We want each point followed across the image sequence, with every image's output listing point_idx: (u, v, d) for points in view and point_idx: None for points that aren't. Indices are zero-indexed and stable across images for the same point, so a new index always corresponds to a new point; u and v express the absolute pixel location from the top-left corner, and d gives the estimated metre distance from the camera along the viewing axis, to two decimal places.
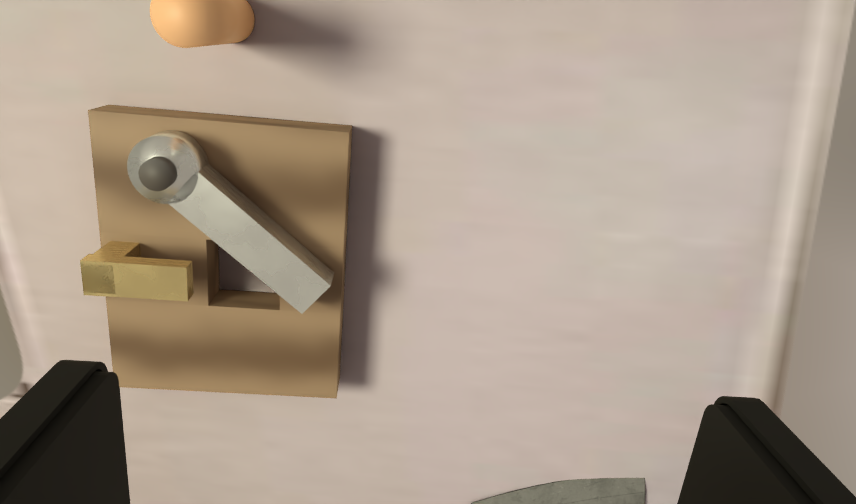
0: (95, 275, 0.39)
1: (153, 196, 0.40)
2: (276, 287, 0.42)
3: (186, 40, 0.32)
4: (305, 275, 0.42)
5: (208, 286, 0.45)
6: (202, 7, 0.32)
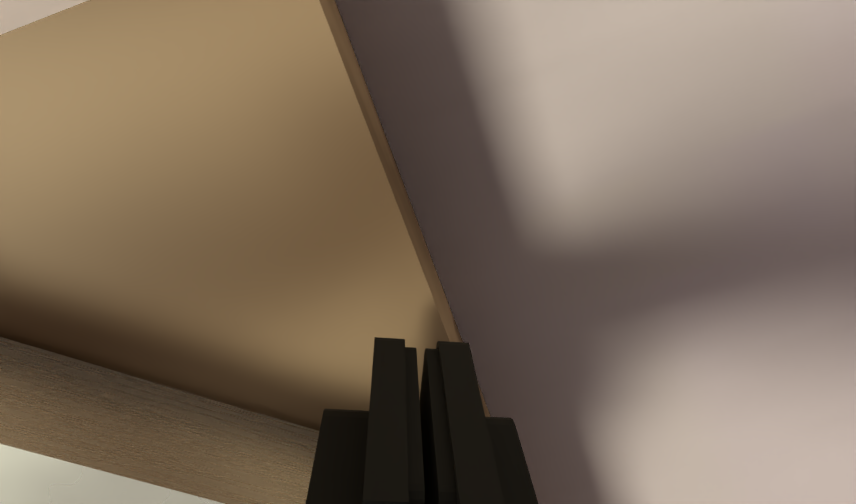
0: None
1: None
2: None
3: None
4: None
5: None
6: None
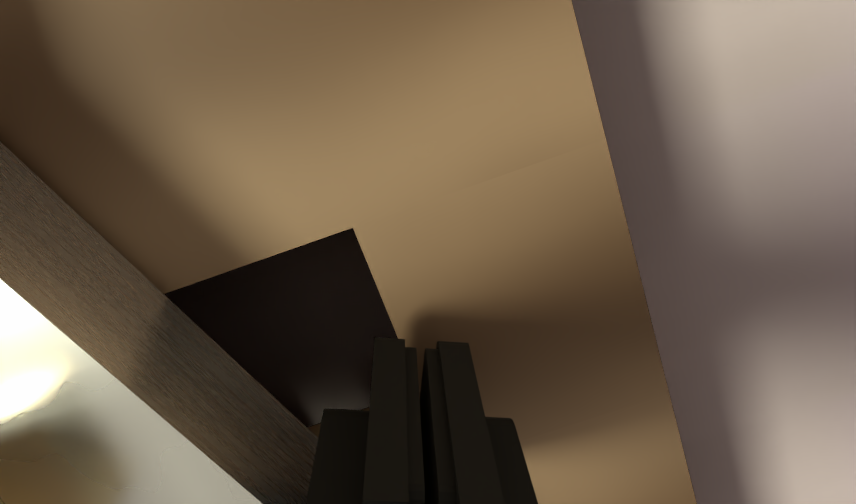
0: None
1: None
2: None
3: None
4: None
5: None
6: None
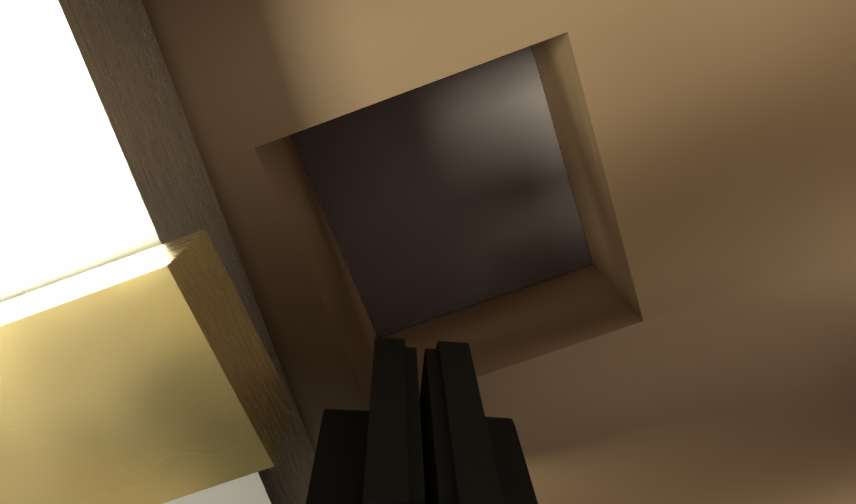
0: None
1: None
2: None
3: None
4: None
5: (343, 340, 0.11)
6: None
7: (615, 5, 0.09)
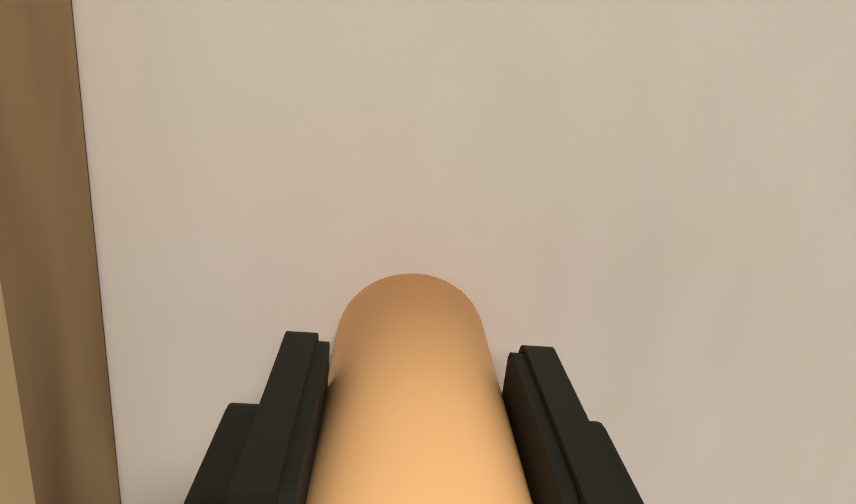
0: None
1: None
2: None
3: None
4: None
5: None
6: None
7: None
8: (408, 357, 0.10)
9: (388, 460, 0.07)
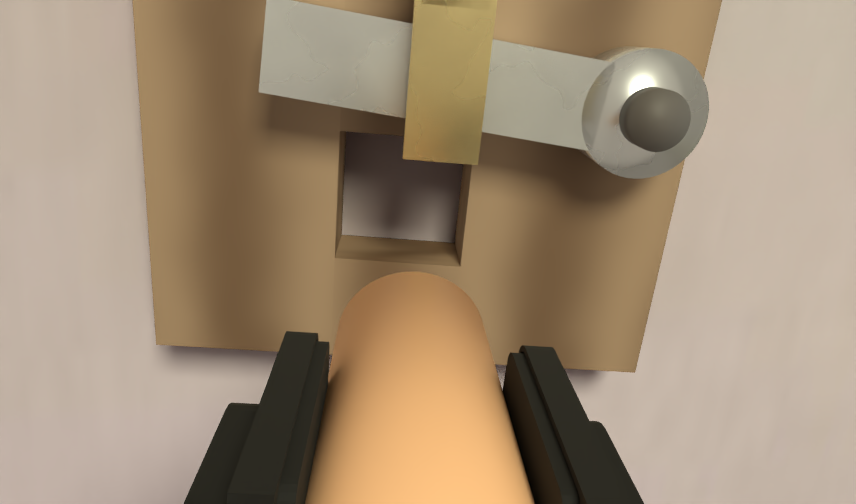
0: None
1: (643, 59, 0.20)
2: (347, 20, 0.20)
3: None
4: (314, 82, 0.20)
5: None
6: None
7: (461, 284, 0.26)
8: (409, 354, 0.10)
9: (388, 458, 0.07)
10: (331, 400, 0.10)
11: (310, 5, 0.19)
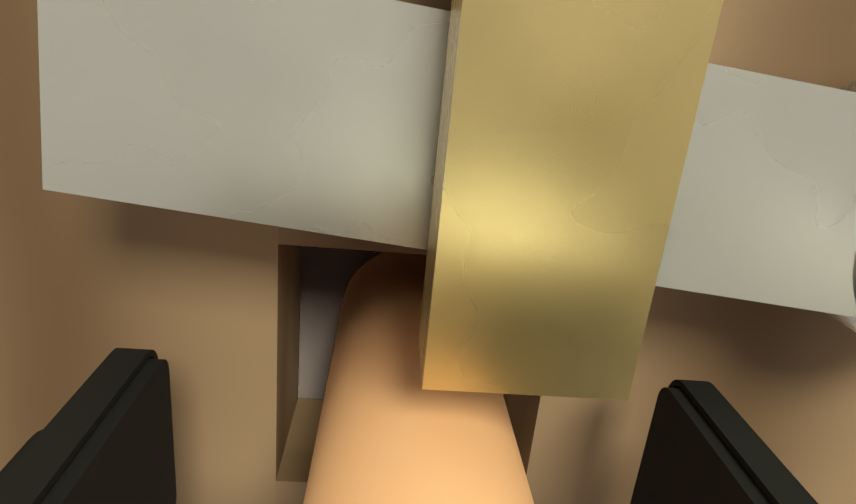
0: None
1: None
2: (269, 1, 0.07)
3: None
4: (187, 164, 0.08)
5: None
6: None
7: None
8: (407, 312, 0.11)
9: (389, 388, 0.09)
10: (339, 351, 0.11)
11: None
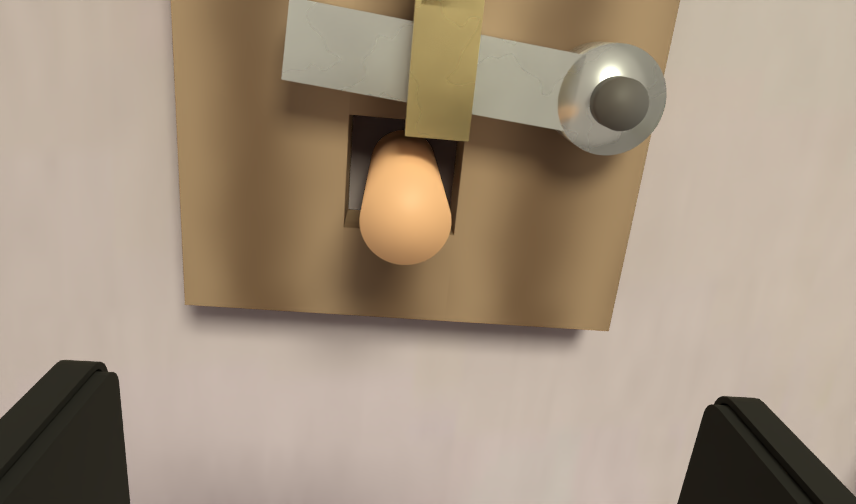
0: None
1: (610, 52, 0.24)
2: (357, 18, 0.23)
3: (369, 225, 0.21)
4: (328, 71, 0.24)
5: (382, 116, 0.27)
6: (417, 252, 0.22)
7: (454, 251, 0.29)
8: (401, 142, 0.27)
9: (394, 154, 0.25)
10: (373, 158, 0.27)
11: (326, 5, 0.23)
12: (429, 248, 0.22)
